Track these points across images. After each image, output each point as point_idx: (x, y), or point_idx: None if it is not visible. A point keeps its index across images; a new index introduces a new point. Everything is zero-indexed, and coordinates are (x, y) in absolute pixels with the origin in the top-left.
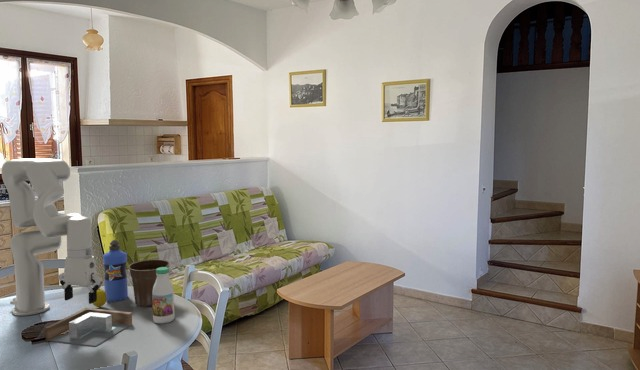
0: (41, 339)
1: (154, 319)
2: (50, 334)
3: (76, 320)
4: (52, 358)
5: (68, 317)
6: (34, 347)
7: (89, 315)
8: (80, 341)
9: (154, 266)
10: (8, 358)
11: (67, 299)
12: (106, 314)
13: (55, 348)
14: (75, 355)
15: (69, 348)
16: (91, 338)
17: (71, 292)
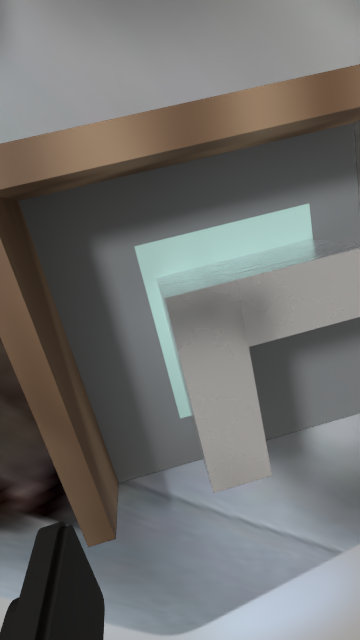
0: (62, 487)
1: None
2: (115, 496)
3: (227, 449)
4: (287, 542)
5: (39, 386)
6: (125, 538)
7: (230, 346)
8: (271, 417)
9: None
10: (135, 622)
11: (99, 598)
12: (336, 264)
13: (218, 498)
14: (348, 488)
15: (273, 469)
16: (293, 371)
17: (65, 635)
